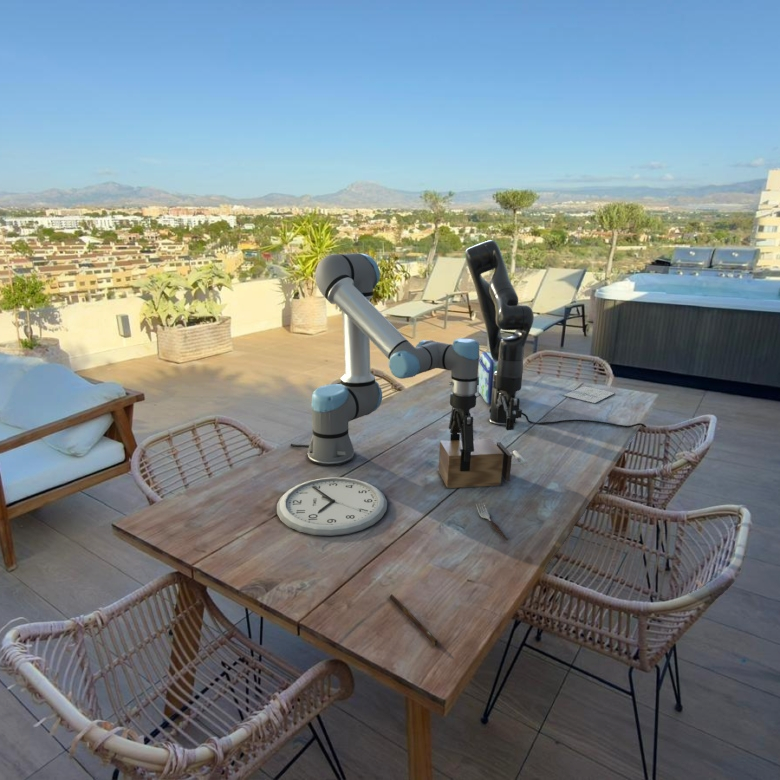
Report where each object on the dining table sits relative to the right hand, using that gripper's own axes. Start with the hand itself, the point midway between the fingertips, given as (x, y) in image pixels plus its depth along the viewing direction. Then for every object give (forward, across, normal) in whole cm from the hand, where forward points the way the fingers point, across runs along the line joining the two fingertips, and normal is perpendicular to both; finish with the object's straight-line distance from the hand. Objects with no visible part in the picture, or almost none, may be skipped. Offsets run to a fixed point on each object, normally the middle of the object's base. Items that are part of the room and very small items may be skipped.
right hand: (504, 424), depth 159 cm
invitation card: (+15, -75, +67) cm, 102 cm away
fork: (+16, +29, -12) cm, 36 cm away
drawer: (+15, +3, -5) cm, 16 cm away
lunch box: (+16, -71, +20) cm, 76 cm away
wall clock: (+16, +15, -53) cm, 57 cm away
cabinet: (+16, +3, -11) cm, 20 cm away
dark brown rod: (+17, +61, -38) cm, 74 cm away
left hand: (+10, +3, -14) cm, 18 cm away
